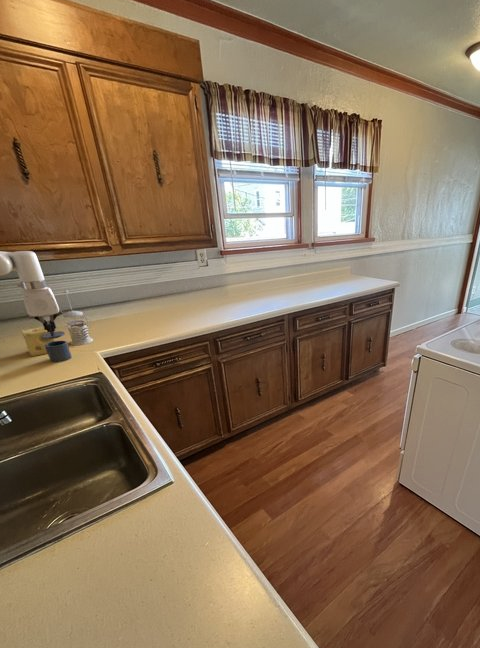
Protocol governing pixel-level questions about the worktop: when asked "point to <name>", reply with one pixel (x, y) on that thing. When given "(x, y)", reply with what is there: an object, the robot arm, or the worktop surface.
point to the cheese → (36, 340)
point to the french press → (76, 337)
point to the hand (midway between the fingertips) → (51, 330)
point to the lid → (52, 333)
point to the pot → (58, 351)
